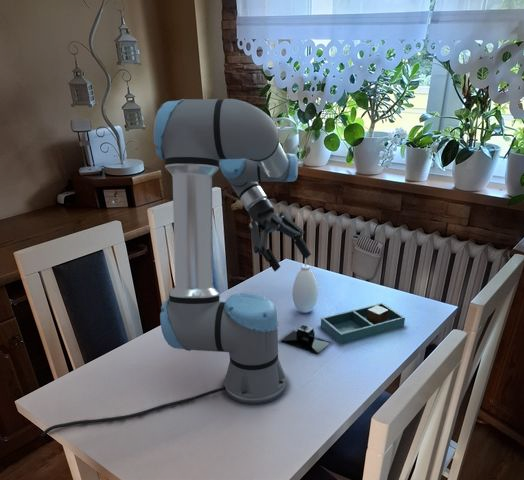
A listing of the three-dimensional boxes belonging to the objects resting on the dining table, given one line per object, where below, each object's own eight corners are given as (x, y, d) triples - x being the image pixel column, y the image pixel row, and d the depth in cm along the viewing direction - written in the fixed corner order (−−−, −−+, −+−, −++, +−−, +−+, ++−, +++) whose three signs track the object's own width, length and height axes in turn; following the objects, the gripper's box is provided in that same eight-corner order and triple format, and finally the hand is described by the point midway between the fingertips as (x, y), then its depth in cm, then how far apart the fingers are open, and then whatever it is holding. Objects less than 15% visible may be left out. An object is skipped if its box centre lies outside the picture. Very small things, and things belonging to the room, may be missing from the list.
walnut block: (377, 327, 143) (379, 314, 141) (366, 322, 146) (367, 309, 144) (387, 323, 146) (388, 309, 143) (375, 317, 149) (377, 305, 146)
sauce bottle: (319, 307, 156) (321, 254, 147) (313, 318, 150) (315, 263, 141) (296, 304, 159) (296, 252, 149) (289, 315, 152) (289, 261, 143)
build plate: (330, 343, 137) (331, 329, 135) (317, 355, 132) (317, 340, 130) (293, 331, 144) (293, 317, 141) (279, 342, 139) (279, 328, 136)
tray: (340, 344, 136) (341, 334, 135) (320, 327, 145) (320, 317, 143) (403, 327, 143) (405, 317, 142) (381, 312, 152) (382, 302, 151)
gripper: (279, 204, 161) (313, 257, 160) (222, 221, 147) (258, 280, 145) (291, 190, 155) (326, 245, 154) (232, 206, 141) (269, 268, 139)
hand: (293, 262), depth 150 cm, fingers open, 13 cm apart
